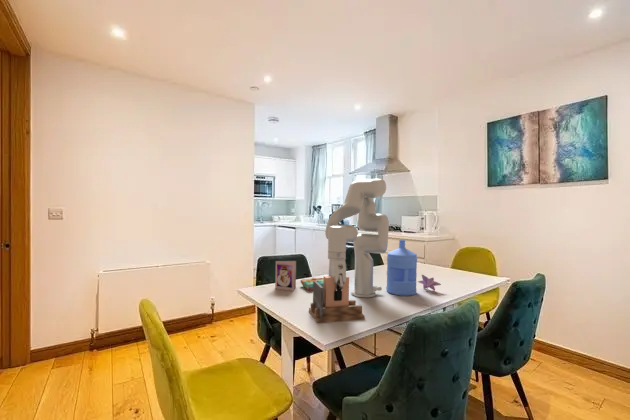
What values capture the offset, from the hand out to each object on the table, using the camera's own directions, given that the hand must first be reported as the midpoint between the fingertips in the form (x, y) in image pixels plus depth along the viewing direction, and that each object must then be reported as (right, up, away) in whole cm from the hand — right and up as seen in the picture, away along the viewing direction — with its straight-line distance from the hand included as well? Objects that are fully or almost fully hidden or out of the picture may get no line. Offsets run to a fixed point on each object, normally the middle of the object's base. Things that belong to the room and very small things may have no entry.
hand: (336, 298), depth 131 cm
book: (0, -3, 0) cm, 3 cm away
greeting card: (-24, -6, +41) cm, 48 cm away
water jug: (+38, -7, +37) cm, 53 cm away
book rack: (0, -7, 0) cm, 7 cm away
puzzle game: (-6, -7, +45) cm, 46 cm away
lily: (+54, -8, +40) cm, 67 cm away
